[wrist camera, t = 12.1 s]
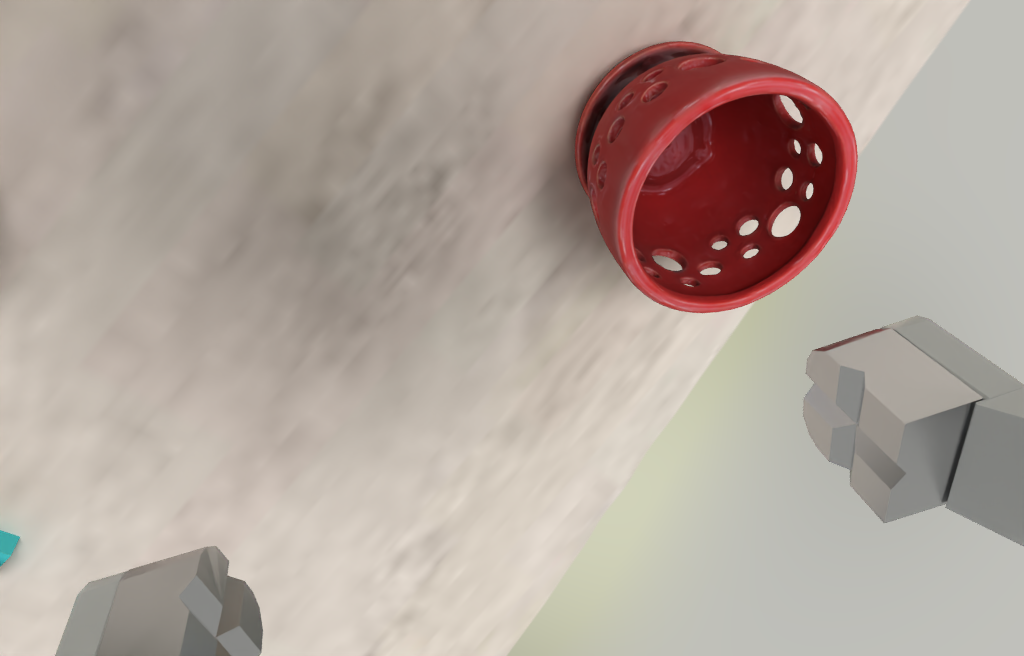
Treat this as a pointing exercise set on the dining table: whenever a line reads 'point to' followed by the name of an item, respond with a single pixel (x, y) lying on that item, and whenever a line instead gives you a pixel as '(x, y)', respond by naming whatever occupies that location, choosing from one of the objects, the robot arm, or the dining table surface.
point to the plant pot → (711, 172)
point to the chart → (7, 545)
